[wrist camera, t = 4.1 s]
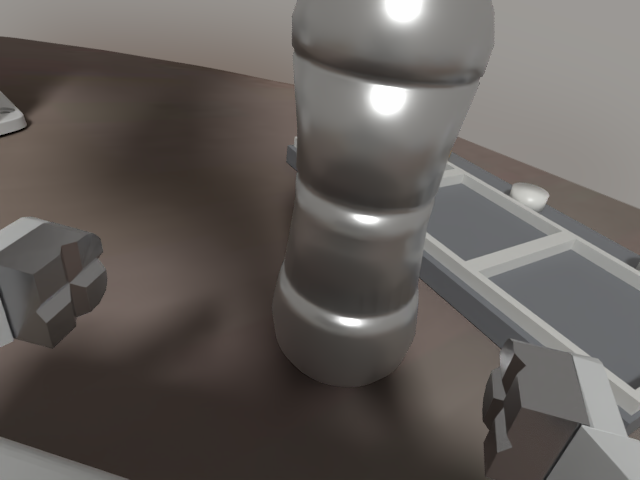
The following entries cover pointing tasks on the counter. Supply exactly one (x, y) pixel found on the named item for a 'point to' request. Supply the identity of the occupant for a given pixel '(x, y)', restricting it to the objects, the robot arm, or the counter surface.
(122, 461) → the counter surface
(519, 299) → the board
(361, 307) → the plastic bottle
